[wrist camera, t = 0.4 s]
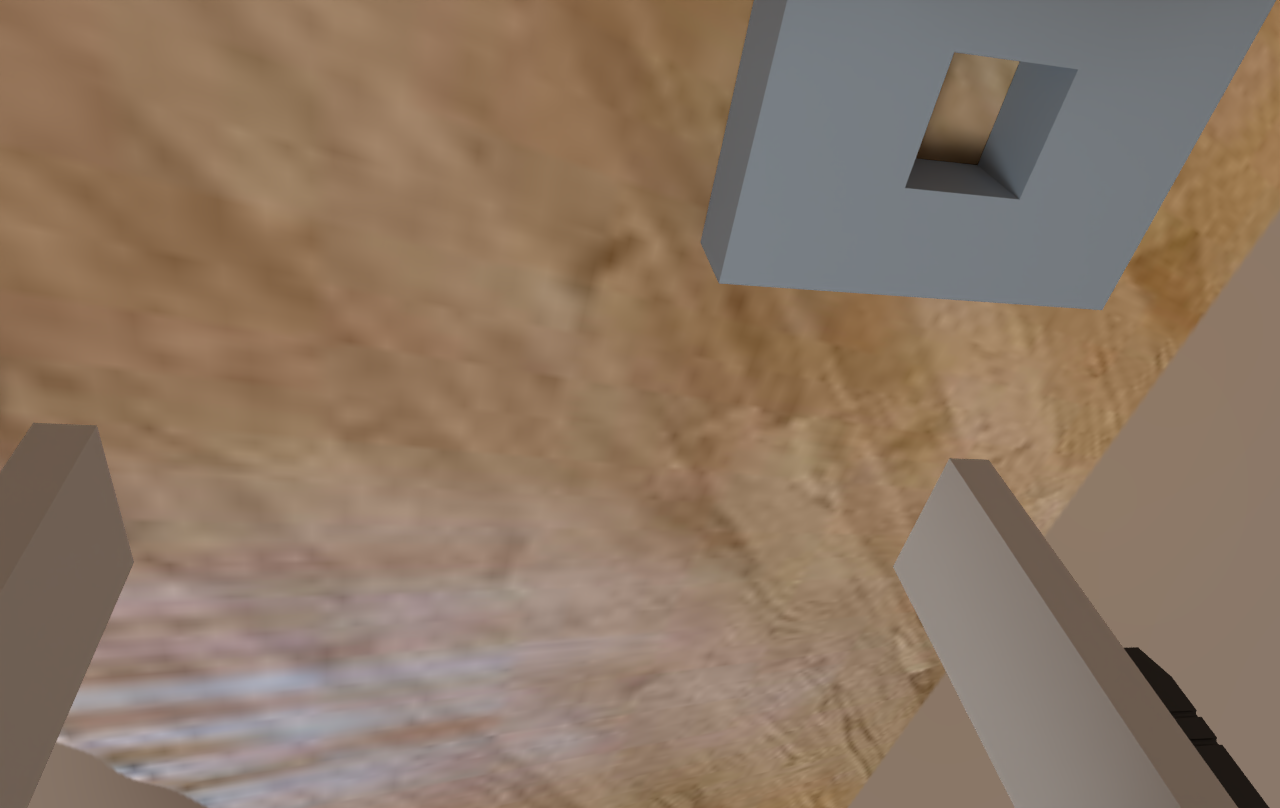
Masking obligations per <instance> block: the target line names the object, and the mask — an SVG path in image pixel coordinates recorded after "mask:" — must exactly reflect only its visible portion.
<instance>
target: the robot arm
mask: <svg viewBox="0 0 1280 808" xmlns="http://www.w3.org/2000/svg"><path fill="white" fill-rule="evenodd" d="M133 563H134V561H133V557H132V553H131V550H130V546H129V542H128V539H127V535H126V531H125V527H124V524H123V520H122V516H121V513H120V509H119V505H118V502H117V498H116V494H115V491H114V487H113V483H112V479H111V476H110V472H109V468H108V465H107V461H106V457H105V454H104V450H103V446H102V443H101V439H100V435H99V431H98V428H97V425H73V424H47V423H33V424H32V426H31V427H30V429H29V430H28V432H27V433H26V435H25V436H24V438H23V439H22V441H21V442H20V444H19V445H18V447H17V448H16V450H15V451H14V452H13V454H12V455H11V457H10V458H9V460H8V461H7V463H6V464H5V466H4V467H3V469H2V470H1V472H0V808H27V807H28V805H29V803H30V800H31V798H32V796H33V793H34V791H35V789H36V786H37V784H38V782H39V780H40V777H41V775H42V773H43V770H44V768H45V766H46V764H47V761H48V759H49V757H50V754H51V752H52V750H53V747H54V745H55V743H56V741H57V738H58V736H59V734H60V731H61V729H62V727H63V724H64V722H65V720H66V718H67V715H68V713H69V711H70V708H71V706H72V704H73V701H74V699H75V697H76V694H77V692H78V690H79V688H80V685H81V683H82V681H83V678H84V676H85V674H86V671H87V669H88V667H89V664H90V662H91V660H92V658H93V655H94V653H95V651H96V648H97V646H98V644H99V641H100V639H101V637H102V634H103V632H104V630H105V628H106V625H107V623H108V621H109V618H110V616H111V614H112V611H113V609H114V607H115V605H116V602H117V600H118V598H119V595H120V593H121V591H122V588H123V586H124V584H125V581H126V579H127V577H128V575H129V572H130V570H131V568H132V565H133ZM893 567H894V569H895V571H896V573H897V575H898V577H899V579H900V581H901V583H902V585H903V587H904V589H905V591H906V593H907V595H908V597H909V599H910V601H911V603H912V605H913V607H914V609H915V611H916V613H917V615H918V617H919V619H920V621H921V623H922V625H923V627H924V629H925V631H926V633H927V635H928V637H929V639H930V641H931V643H932V645H933V647H934V649H935V651H936V653H937V655H938V657H939V658H940V660H941V662H942V664H943V666H944V668H945V670H946V672H947V674H948V676H949V678H950V680H951V682H952V684H953V686H954V688H955V690H956V692H957V694H958V696H959V698H960V700H961V702H962V704H963V706H964V708H965V710H966V712H967V714H968V716H969V718H970V720H971V722H972V724H973V726H974V728H975V730H976V732H977V734H978V736H979V738H980V740H981V742H982V744H983V746H984V748H985V750H986V751H987V754H988V755H989V757H990V759H991V761H992V763H993V765H994V767H995V769H996V771H997V773H998V775H999V777H1000V779H1001V781H1002V783H1003V785H1004V787H1005V789H1006V791H1007V793H1008V795H1009V797H1010V799H1011V801H1012V803H1013V805H1014V807H1015V808H1269V807H1268V805H1267V804H1266V803H1265V802H1264V800H1263V799H1262V797H1261V796H1260V795H1259V793H1258V792H1257V791H1256V789H1255V788H1254V787H1253V785H1252V784H1251V783H1250V781H1249V780H1248V779H1247V777H1246V776H1245V775H1244V773H1243V772H1242V771H1241V769H1240V768H1239V767H1238V765H1237V764H1236V763H1235V761H1234V760H1233V759H1232V757H1231V756H1230V755H1229V753H1228V752H1227V751H1226V749H1225V748H1224V747H1223V745H1219V744H1218V743H1217V742H1216V739H1217V737H1216V736H1215V734H1214V733H1213V732H1212V730H1211V729H1210V728H1209V726H1208V725H1207V724H1206V723H1205V721H1204V720H1203V718H1202V717H1198V716H1197V715H1196V709H1195V708H1194V706H1193V705H1192V704H1191V702H1190V701H1189V700H1188V698H1187V697H1186V696H1185V694H1184V693H1183V692H1182V691H1181V689H1180V688H1179V686H1178V685H1177V684H1176V682H1175V681H1174V680H1173V678H1172V677H1171V676H1170V675H1169V674H1168V673H1166V672H1165V671H1164V670H1163V669H1162V668H1161V667H1160V666H1158V665H1157V664H1156V663H1155V662H1154V661H1153V660H1151V659H1150V658H1149V657H1148V656H1147V655H1146V654H1145V653H1144V652H1142V651H1141V650H1140V649H1139V648H1123V647H1122V645H1121V644H1120V642H1119V641H1118V640H1117V638H1116V637H1115V635H1114V634H1113V633H1112V631H1111V630H1110V629H1109V627H1108V626H1107V624H1106V623H1105V621H1104V620H1103V619H1102V618H1101V616H1100V615H1099V613H1098V612H1097V610H1096V609H1095V608H1094V606H1093V605H1092V603H1091V602H1090V601H1089V599H1088V598H1087V596H1086V595H1085V594H1084V592H1083V591H1082V589H1081V588H1080V587H1079V585H1078V584H1077V582H1076V581H1075V580H1074V578H1073V577H1072V575H1071V574H1070V573H1069V571H1068V570H1067V568H1066V567H1065V566H1064V564H1063V563H1062V561H1061V560H1060V559H1059V557H1058V556H1057V555H1056V553H1055V552H1054V550H1053V549H1052V548H1051V546H1050V545H1049V544H1048V542H1047V541H1046V539H1045V538H1044V536H1043V535H1042V534H1041V532H1040V531H1039V529H1038V528H1037V527H1036V525H1035V524H1034V522H1033V521H1032V520H1031V518H1030V517H1029V515H1028V514H1027V513H1026V511H1025V510H1024V509H1023V507H1022V506H1021V504H1020V503H1019V502H1018V500H1017V499H1016V497H1015V496H1014V495H1013V493H1012V492H1011V490H1010V489H1009V488H1008V486H1007V485H1006V483H1005V482H1004V481H1003V479H1002V478H1001V476H1000V475H999V474H998V472H997V471H996V469H995V468H994V467H993V465H992V464H991V462H990V461H989V460H978V459H952V458H949V460H948V462H947V464H946V466H945V468H944V470H943V472H942V474H941V476H940V478H939V480H938V481H937V483H936V485H935V487H934V489H933V491H932V493H931V495H930V497H929V499H928V501H927V503H926V505H925V506H924V508H923V510H922V512H921V514H920V516H919V518H918V520H917V522H916V524H915V526H914V528H913V529H912V531H911V533H910V535H909V537H908V539H907V541H906V543H905V545H904V547H903V549H902V551H901V553H900V554H899V556H898V558H897V560H896V562H895V564H894V566H893Z"/></svg>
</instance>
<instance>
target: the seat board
mask: <svg viewBox="0 0 1280 808" xmlns="http://www.w3.org/2000/svg"><path fill="white" fill-rule="evenodd" d="M1275 1H1276V0H754V2H753V7H752V11H751V16H750V20H749V25H748V29H747V34H746V39H745V43H744V48H743V52H742V57H741V61H740V66H739V70H738V75H737V80H736V84H735V89H734V93H733V98H732V102H731V107H730V111H729V116H728V121H727V125H726V130H725V134H724V139H723V143H722V148H721V152H720V157H719V162H718V166H717V171H716V175H715V180H714V184H713V189H712V193H711V198H710V203H709V207H708V212H707V216H706V221H705V225H704V230H703V234H702V239H701V245H702V247H703V249H704V251H705V253H706V256H707V258H708V260H709V262H710V265H711V267H712V269H713V271H714V273H715V276H716V278H717V280H718V282H719V283H721V284H736V285H750V286H764V287H779V288H793V289H807V290H822V291H836V292H850V293H865V294H879V295H893V296H908V297H922V298H937V299H951V300H965V301H980V302H994V303H1008V304H1023V305H1037V306H1051V307H1066V308H1080V309H1094V310H1102V309H1103V308H1104V306H1105V304H1106V302H1107V300H1108V299H1109V297H1110V295H1111V293H1112V292H1113V290H1114V288H1115V286H1116V284H1117V283H1118V281H1119V279H1120V277H1121V276H1122V274H1123V272H1124V270H1125V268H1126V267H1127V265H1128V263H1129V261H1130V259H1131V258H1132V256H1133V254H1134V252H1135V251H1136V249H1137V247H1138V245H1139V243H1140V242H1141V240H1142V238H1143V236H1144V235H1145V233H1146V231H1147V229H1148V227H1149V226H1150V224H1151V222H1152V220H1153V219H1154V217H1155V215H1156V213H1157V211H1158V210H1159V208H1160V206H1161V204H1162V202H1163V201H1164V199H1165V197H1166V195H1167V194H1168V192H1169V190H1170V188H1171V186H1172V185H1173V183H1174V181H1175V179H1176V178H1177V176H1178V174H1179V172H1180V170H1181V169H1182V167H1183V165H1184V163H1185V162H1186V160H1187V158H1188V156H1189V154H1190V153H1191V151H1192V149H1193V147H1194V146H1195V144H1196V142H1197V140H1198V138H1199V137H1200V135H1201V133H1202V131H1203V129H1204V128H1205V126H1206V124H1207V122H1208V121H1209V119H1210V117H1211V115H1212V113H1213V112H1214V110H1215V108H1216V106H1217V105H1218V103H1219V101H1220V99H1221V97H1222V96H1223V94H1224V92H1225V90H1226V89H1227V87H1228V85H1229V83H1230V81H1231V80H1232V78H1233V76H1234V74H1235V73H1236V71H1237V69H1238V67H1239V65H1240V64H1241V62H1242V60H1243V58H1244V56H1245V55H1246V53H1247V51H1248V49H1249V48H1250V46H1251V44H1252V42H1253V40H1254V39H1255V37H1256V35H1257V33H1258V32H1259V30H1260V28H1261V26H1262V24H1263V23H1264V21H1265V19H1266V17H1267V16H1268V14H1269V12H1270V10H1271V8H1272V7H1273V5H1274V3H1275ZM954 52H957V53H965V54H972V55H979V56H986V57H993V58H1000V59H1007V60H1014V61H1020V63H1019V65H1018V68H1017V70H1016V73H1015V75H1014V78H1013V80H1012V83H1011V85H1010V87H1009V90H1008V92H1007V95H1006V97H1005V100H1004V102H1003V104H1002V107H1001V109H1000V112H999V114H998V117H997V119H996V122H995V124H994V126H993V129H992V131H991V134H990V136H989V139H988V141H987V143H986V146H985V148H984V151H983V153H982V156H981V158H980V161H979V163H978V165H971V164H962V163H953V162H944V161H935V160H925V159H916V156H917V153H918V151H919V148H920V145H921V142H922V140H923V137H924V134H925V131H926V128H927V126H928V123H929V120H930V117H931V115H932V112H933V109H934V106H935V104H936V101H937V98H938V95H939V93H940V90H941V87H942V84H943V82H944V79H945V76H946V73H947V71H948V68H949V65H950V62H951V60H952V57H953V54H954Z"/></svg>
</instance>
